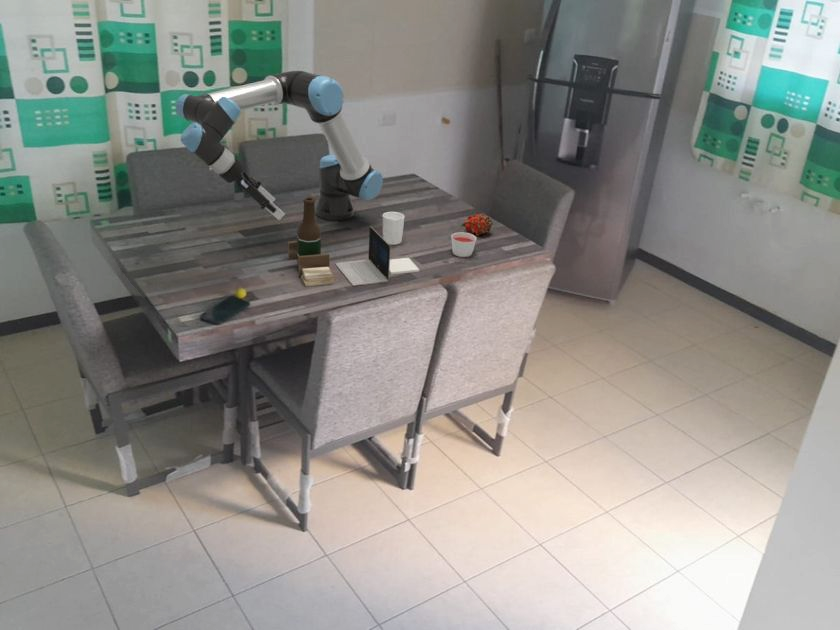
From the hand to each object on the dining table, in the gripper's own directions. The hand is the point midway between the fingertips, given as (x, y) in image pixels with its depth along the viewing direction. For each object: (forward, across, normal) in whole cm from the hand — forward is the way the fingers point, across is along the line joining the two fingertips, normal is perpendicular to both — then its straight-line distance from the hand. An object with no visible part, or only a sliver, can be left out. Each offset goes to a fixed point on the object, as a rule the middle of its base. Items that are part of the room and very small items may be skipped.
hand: (277, 209), depth 250 cm
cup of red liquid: (+62, +1, +32) cm, 70 cm away
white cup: (+47, -15, +17) cm, 52 cm away
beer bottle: (+22, 0, -8) cm, 24 cm away
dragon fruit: (+71, -15, +41) cm, 84 cm away
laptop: (+34, +8, +3) cm, 35 cm away
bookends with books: (+22, +3, -8) cm, 24 cm away
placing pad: (+44, +7, +14) cm, 46 cm away
